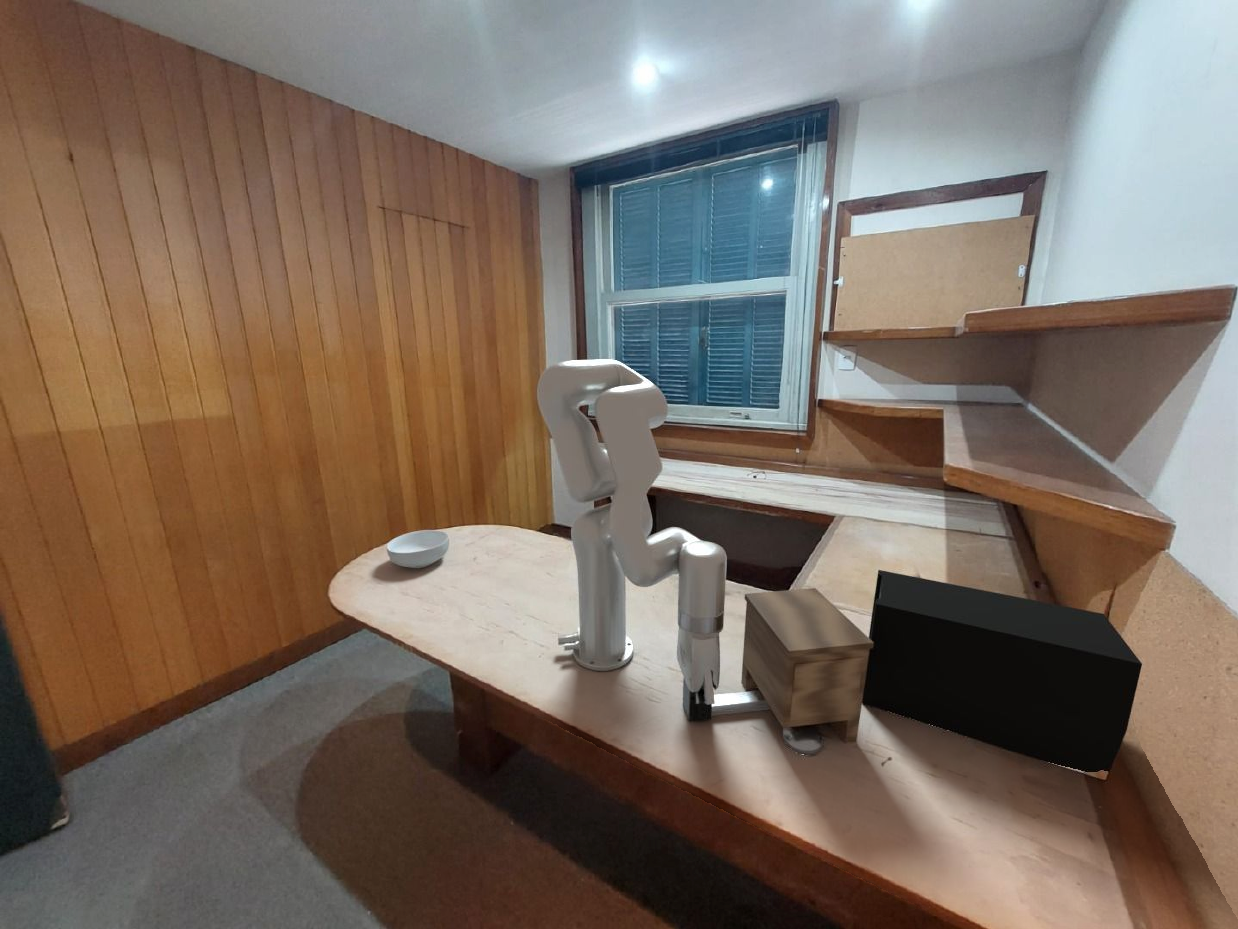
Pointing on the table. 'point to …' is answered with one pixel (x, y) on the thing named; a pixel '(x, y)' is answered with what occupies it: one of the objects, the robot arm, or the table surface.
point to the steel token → (803, 739)
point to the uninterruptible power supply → (1001, 670)
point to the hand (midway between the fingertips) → (697, 708)
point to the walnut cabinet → (805, 659)
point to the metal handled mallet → (727, 702)
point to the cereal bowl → (418, 548)
